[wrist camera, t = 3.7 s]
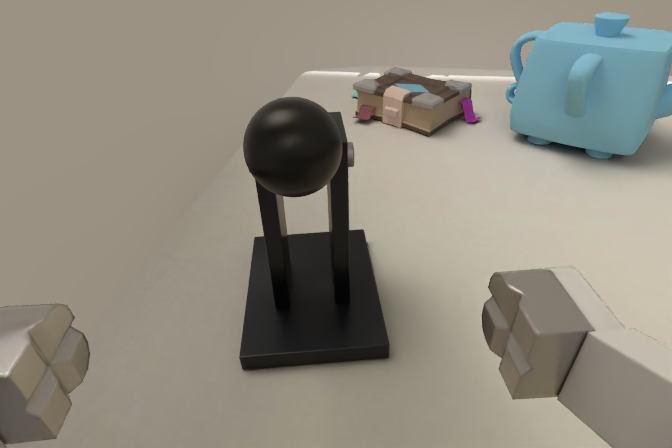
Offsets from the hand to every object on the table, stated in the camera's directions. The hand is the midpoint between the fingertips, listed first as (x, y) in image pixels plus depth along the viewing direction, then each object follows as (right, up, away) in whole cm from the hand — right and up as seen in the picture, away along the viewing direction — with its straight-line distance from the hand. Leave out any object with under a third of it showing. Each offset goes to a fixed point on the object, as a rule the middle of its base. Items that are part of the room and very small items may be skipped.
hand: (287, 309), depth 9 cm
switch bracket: (-1, -3, +23) cm, 23 cm away
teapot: (+31, +11, +43) cm, 54 cm away
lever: (-1, +3, +11) cm, 12 cm away
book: (+10, +17, +51) cm, 55 cm away
